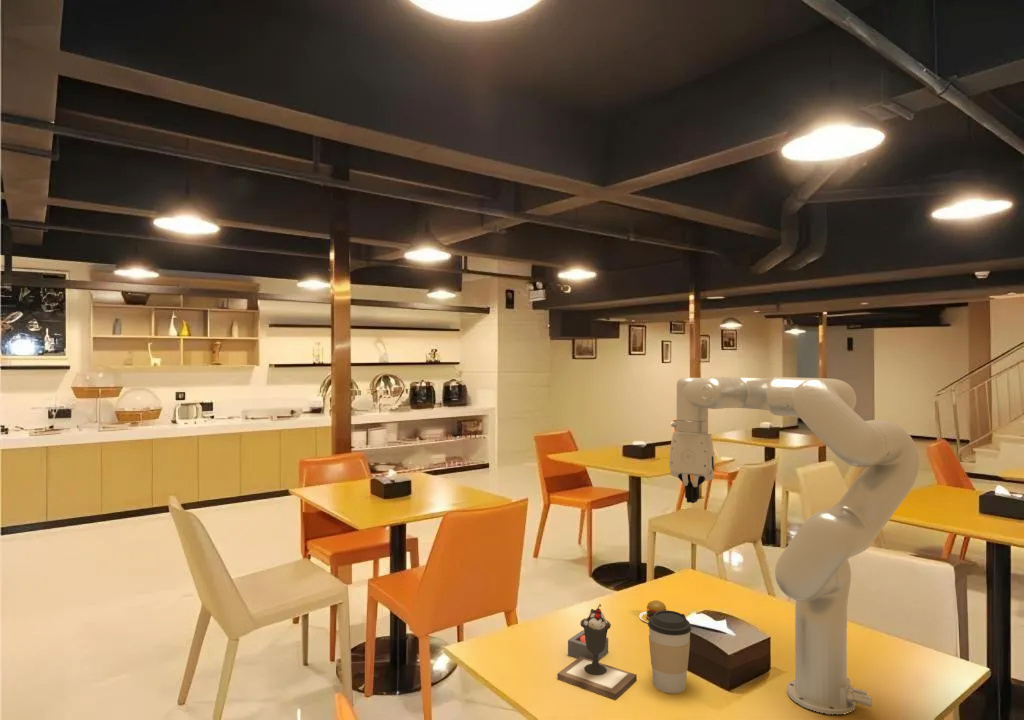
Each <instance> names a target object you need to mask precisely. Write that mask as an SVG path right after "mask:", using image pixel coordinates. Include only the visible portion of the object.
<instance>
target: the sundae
mask: <svg viewBox="0 0 1024 720" xmlns="http://www.w3.org/2000/svg"><path fill="white" fill-rule="evenodd" d="M600 607H602V605H601V603H599V605H598V606H597V608H596V609H593V608H591V609H590V612H589V615H588V617H587V618H586V617H584V618H583V619H581V621H580V626H581V627H582V628H583V630H584V632H585V641H586V646H587V649H588V650H589V651H590V652H591V653H592V654H593V661H592V664H588V665H586V666H585V667H584V670H585V671H586V672H587V673H589V674H592V675H602V674H604V673H606V671H607V669H606V667H605V666H603V665H600V664H599V663H600V662H599V660H598V654H600V653H601V652H602V651H603V650H604V648H605V644H606V637H607V635H608V630H609V629H611V626H612V624H611V623H610V621H608V619H606V618H605V615H604V613H603V612H602V609H601V608H600Z"/></svg>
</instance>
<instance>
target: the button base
mask: <svg viewBox="0 0 1024 720" xmlns="http://www.w3.org/2000/svg"><path fill="white" fill-rule="evenodd" d="M582 635H585V632H584V629H583V630H580V631H579V632H578V633H575V635H573V636H572V637H570V638H569V639H568V640H567V656H569V655H570V656H569V657H572V658H575V659H578V658H579V657H580V656H581V657H584V658H587V659H590V660H593V654H592V653H591V652H590V651H589V650H588V649H587V646H586V643H584V642H581V641H580V637H581V636H582ZM608 653H609V637H607V636H606V644H605V648H604V650H603V651H602V652H601V653H600V654H598V661H599V660H601V659H602V658H604V657H605V656H606V655H607V654H608Z"/></svg>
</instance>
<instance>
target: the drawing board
mask: <svg viewBox="0 0 1024 720" xmlns="http://www.w3.org/2000/svg"><path fill="white" fill-rule="evenodd" d="M592 661H593V660H590V659H587V658H584V657H581V656H580V657H579V658H575V660H573V661H572V662H571V663H570V664H568V665H567V666H565V667H564V668H563V669H561V670H560V671H558V673H556V674H557V680H560V681H562V682H564V683H568V684H569V685H573V686H576V687H579V688H581V689H584V690H587V691H590V692H592V693H594V694H598V695H601V696H603V697H607V698H609V699H611V700H615V701H616V700H617V699H618V698H620V696H621V695H623V693H625V692H626V691H627V690H628V689H629V688H630V687H631V686H632V685H633V684H635V682H637V678H638V677H637V674H635V673H632V672H630V671H626V670H623V669H620V668H617V667H614V666H611V665H607V664H605V663H602V662H599V664H600V665H603V666H605V667H606V669H607V671H606V673H604V674H602V675H592V674H589V673H587V672H586V671H585V670H584V667H585V666H586V665H588V664H592Z"/></svg>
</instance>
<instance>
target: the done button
mask: <svg viewBox="0 0 1024 720" xmlns="http://www.w3.org/2000/svg"><path fill="white" fill-rule="evenodd" d="M580 641H581V642H584V643H586V641H585V635H582V636H581V637H580Z"/></svg>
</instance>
